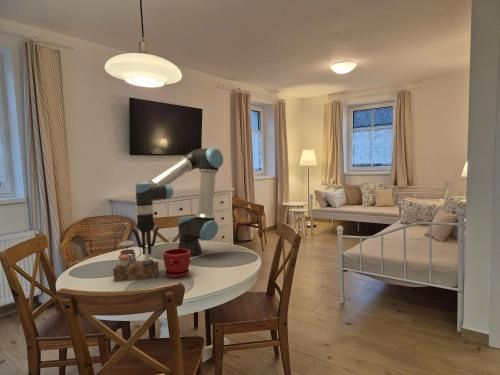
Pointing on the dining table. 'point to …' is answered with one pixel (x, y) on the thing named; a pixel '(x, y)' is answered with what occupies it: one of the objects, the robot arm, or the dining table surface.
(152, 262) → the charcoal plug
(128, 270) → the socket block
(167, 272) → the plant pot
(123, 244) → the french press
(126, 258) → the red plug
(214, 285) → the dining table surface
